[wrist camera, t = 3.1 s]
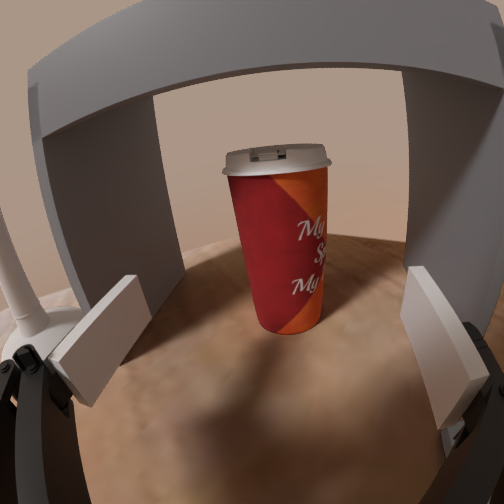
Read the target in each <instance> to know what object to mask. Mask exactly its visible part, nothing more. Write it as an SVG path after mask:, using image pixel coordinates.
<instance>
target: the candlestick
mask: <svg viewBox="0 0 504 504" xmlns="http://www.w3.org/2000/svg"><path fill="white" fill-rule="evenodd" d="M0 285H1V288H2V290H3V293H4V295H5V298H6V300H7V303H8V305H9V307H10V310H11V312H12V314H13V317H14V319H15V320H16V323H17V326H18V327H17V328H16V329H15V330H14V331H13V332H12V334H11V335H10V337H9V338H8V340H7V342H6V344H5V346H4V349H3V353H2V359H1V362H3V361H4V360H7V359H12V360H13V358H12V356H13V354H14V353H15V351H16V350H17V349H18V348H20V347H21V346H23V345H26V344H32V345H33V346H34V347H35V349H36V351H37V352H38V354H39V355H40V357H41V359H42V360H44V359H45V358H46V357H47V356H48V355H49V354H50V353H51V351H52V350H53V349H54V348H55V347H56V346H57V345H58V343H59V342H61V341H62V339H63V338H64V337H65V336H66V335H67V334H68V332H69V331H70V330H71V329H72V328H73V327H75V326H76V325H77V324H78V323H79V322H80V321H81V320H82V319H83V318H84V317H85V316H84V314H83V312H82V310H81V309H79V308H75V307H69V306H60V307H53V308H49V309H46V310H44V309H43V308H42V306H41V305H40V301H39V300H38V299H37V297H36V295H35V293H34V291H33V289H32V287H31V285H30V283H29V281H28V279H27V277H26V275H25V272H24V270H23V268H22V265H21V263H20V261H19V259H18V256H17V254H16V251H15V249H14V246H13V243H12V241H11V238H10V235H9V233H8V230H7V227H6V224H5V221H4V218H3V215H2V212H1V208H0ZM13 361H14V360H13ZM14 362H15V361H14ZM16 365H17V364H16ZM18 368H19V367H18Z"/></svg>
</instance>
